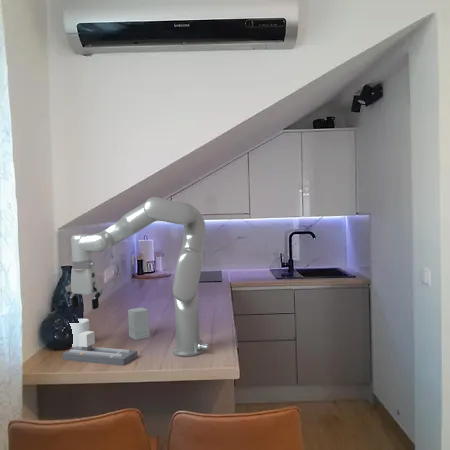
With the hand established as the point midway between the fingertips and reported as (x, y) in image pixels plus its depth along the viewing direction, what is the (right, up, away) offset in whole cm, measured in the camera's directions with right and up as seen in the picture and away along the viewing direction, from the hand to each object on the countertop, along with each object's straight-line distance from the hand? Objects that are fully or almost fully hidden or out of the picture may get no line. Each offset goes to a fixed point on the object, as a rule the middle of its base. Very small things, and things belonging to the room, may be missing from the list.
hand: (85, 308), depth 189 cm
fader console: (+6, -20, -1) cm, 21 cm away
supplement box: (+17, -18, +27) cm, 37 cm away
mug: (-9, -20, +18) cm, 28 cm away
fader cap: (+1, -17, +1) cm, 17 cm away
